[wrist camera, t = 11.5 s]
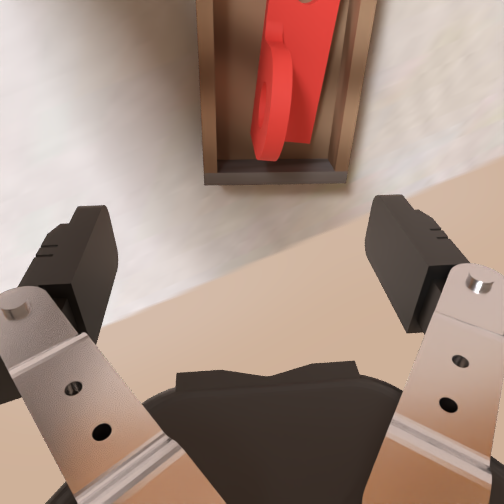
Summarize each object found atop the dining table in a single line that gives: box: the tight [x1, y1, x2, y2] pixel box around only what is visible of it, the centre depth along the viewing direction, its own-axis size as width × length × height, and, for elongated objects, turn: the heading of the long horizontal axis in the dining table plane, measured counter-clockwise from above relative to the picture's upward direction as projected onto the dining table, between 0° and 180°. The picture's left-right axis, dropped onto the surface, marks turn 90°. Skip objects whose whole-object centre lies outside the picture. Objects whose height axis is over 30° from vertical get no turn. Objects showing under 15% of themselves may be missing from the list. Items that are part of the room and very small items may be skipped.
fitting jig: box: [196, 0, 377, 185], centre depth 28 cm, size 17×11×3 cm, turn 179°
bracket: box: [250, 0, 340, 161], centre depth 26 cm, size 12×4×8 cm, turn 173°
